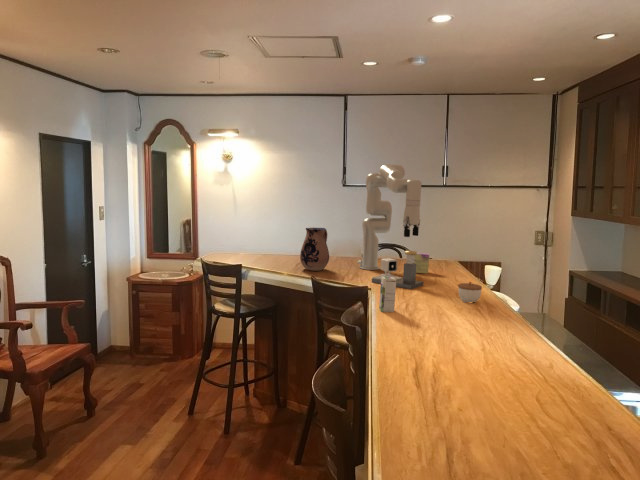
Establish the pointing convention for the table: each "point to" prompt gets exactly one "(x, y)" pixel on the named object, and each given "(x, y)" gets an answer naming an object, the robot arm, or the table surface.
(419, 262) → the box
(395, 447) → the table surface
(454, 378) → the table surface
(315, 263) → the ceramic pitcher
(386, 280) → the syrup box
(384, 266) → the security camera
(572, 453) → the table surface
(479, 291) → the lidded jar
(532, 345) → the table surface
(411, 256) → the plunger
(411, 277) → the press base
